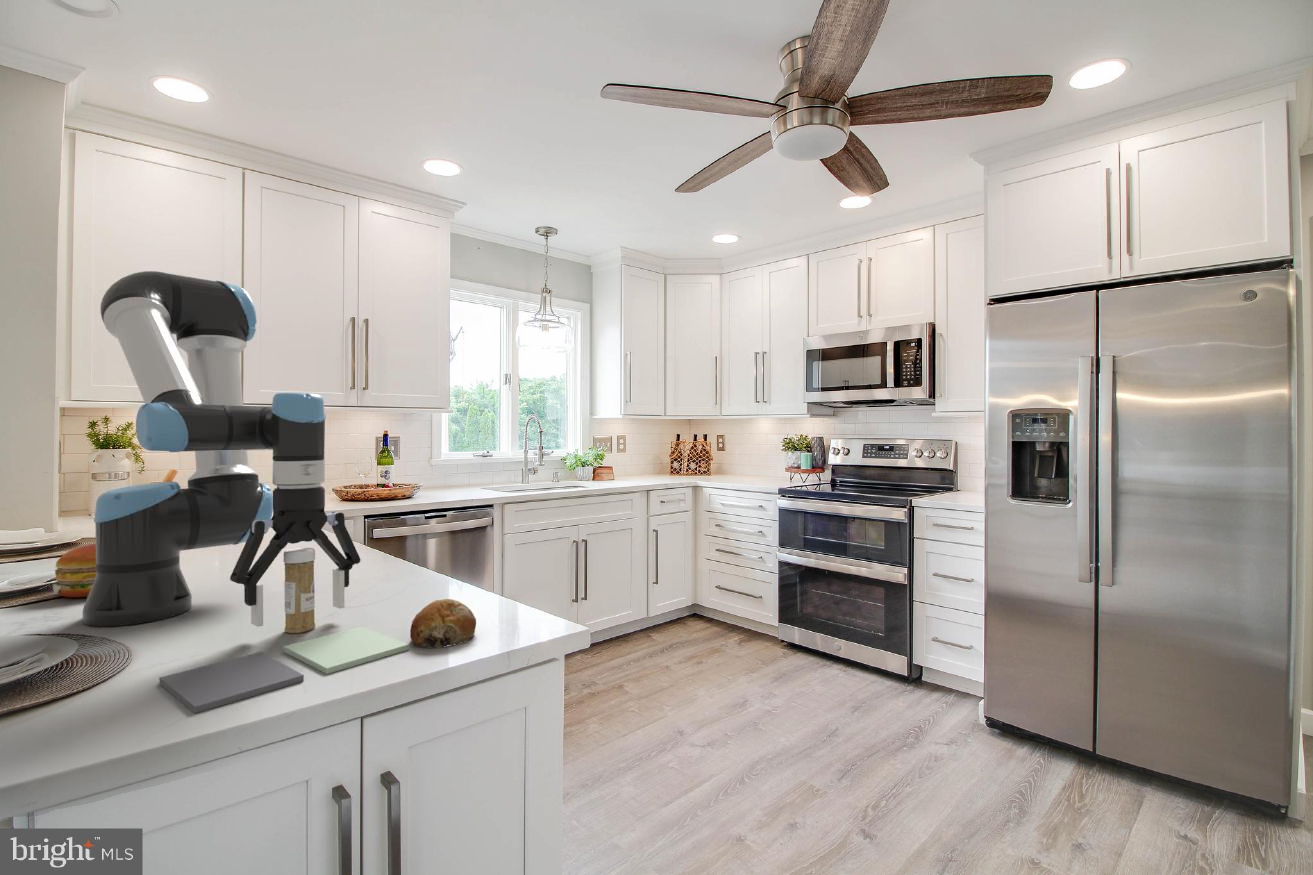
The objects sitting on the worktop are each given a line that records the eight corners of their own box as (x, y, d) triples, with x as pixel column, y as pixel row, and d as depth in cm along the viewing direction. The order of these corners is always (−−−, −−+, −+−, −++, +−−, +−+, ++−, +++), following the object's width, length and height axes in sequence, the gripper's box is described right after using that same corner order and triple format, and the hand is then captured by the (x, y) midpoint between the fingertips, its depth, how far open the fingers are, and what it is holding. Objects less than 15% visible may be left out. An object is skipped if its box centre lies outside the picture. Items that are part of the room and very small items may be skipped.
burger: (66, 605, 118) (66, 552, 118) (41, 595, 125) (40, 546, 125) (152, 589, 130) (151, 542, 130) (124, 581, 137) (124, 536, 137)
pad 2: (283, 651, 93) (283, 646, 93) (362, 631, 103) (362, 626, 103) (327, 673, 85) (326, 668, 85) (408, 649, 94) (408, 644, 94)
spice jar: (316, 631, 103) (316, 550, 103) (284, 636, 101) (284, 553, 100) (314, 623, 107) (313, 545, 107) (283, 628, 104) (282, 548, 104)
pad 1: (159, 683, 82) (159, 677, 82) (261, 657, 91) (261, 651, 91) (195, 713, 73) (195, 706, 73) (303, 680, 82) (303, 674, 82)
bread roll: (481, 657, 101) (493, 607, 104) (444, 649, 92) (459, 595, 96) (431, 650, 104) (444, 602, 108) (391, 642, 96) (406, 590, 99)
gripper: (222, 493, 92) (223, 639, 92) (381, 482, 111) (381, 603, 111) (205, 490, 96) (205, 629, 96) (360, 480, 115) (360, 596, 116)
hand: (299, 615), depth 104 cm, fingers open, 12 cm apart
